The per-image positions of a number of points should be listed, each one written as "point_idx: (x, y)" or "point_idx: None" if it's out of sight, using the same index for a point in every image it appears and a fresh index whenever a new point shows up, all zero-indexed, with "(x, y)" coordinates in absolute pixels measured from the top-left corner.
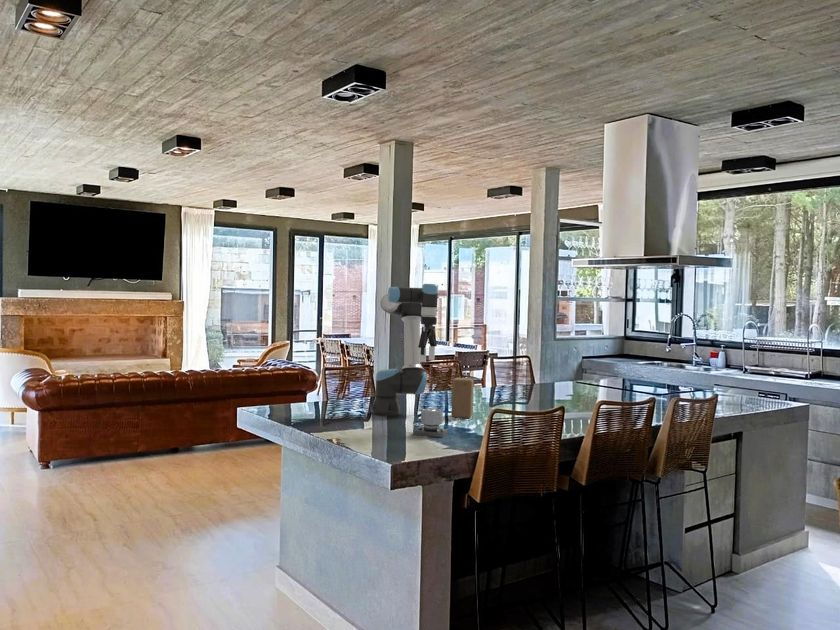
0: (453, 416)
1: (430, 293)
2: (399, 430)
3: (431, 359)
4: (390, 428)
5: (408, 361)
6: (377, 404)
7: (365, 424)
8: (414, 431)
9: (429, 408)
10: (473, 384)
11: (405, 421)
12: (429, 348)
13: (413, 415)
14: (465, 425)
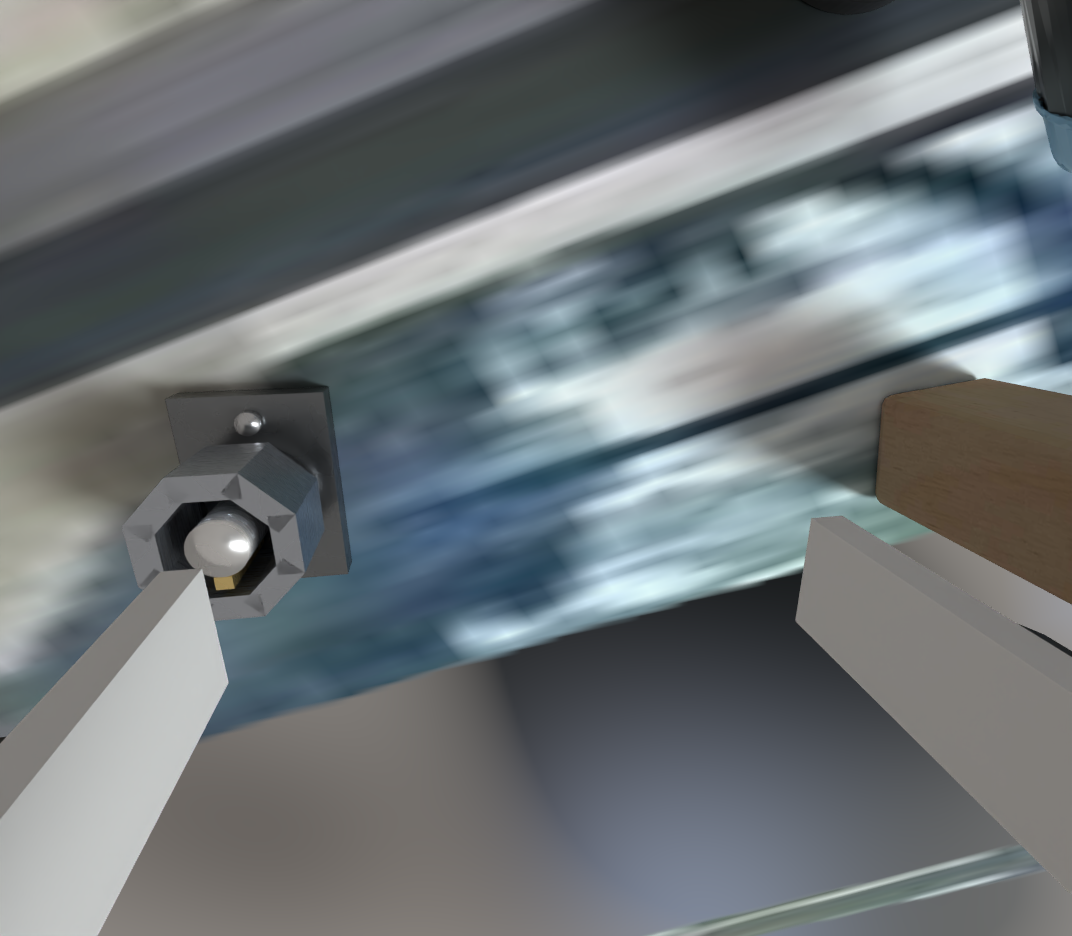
0: (882, 408)
1: None
2: (252, 257)
3: (809, 578)
4: (278, 165)
5: None
6: None
7: None
8: (171, 407)
9: (279, 505)
10: None
11: (604, 167)
12: (1046, 692)
13: (862, 134)
14: (652, 548)
